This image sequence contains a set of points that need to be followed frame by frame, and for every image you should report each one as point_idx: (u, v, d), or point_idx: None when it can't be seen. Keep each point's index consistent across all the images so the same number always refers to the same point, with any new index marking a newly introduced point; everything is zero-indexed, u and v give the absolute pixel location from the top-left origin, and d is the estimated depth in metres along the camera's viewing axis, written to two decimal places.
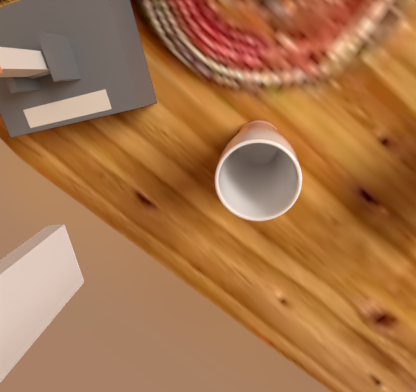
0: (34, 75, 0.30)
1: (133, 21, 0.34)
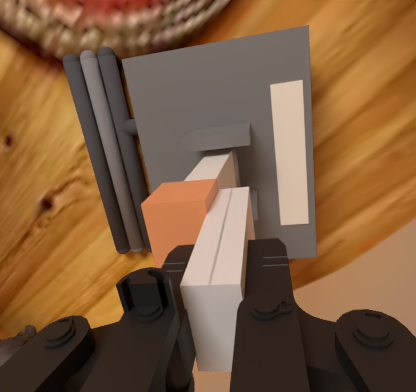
0: (236, 183, 0.21)
1: None
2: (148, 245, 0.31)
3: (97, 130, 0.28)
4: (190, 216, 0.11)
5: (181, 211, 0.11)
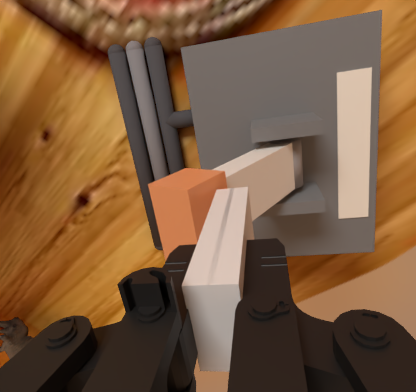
0: (295, 177, 0.20)
1: None
2: None
3: (140, 123, 0.28)
4: (179, 201, 0.13)
5: (172, 196, 0.13)
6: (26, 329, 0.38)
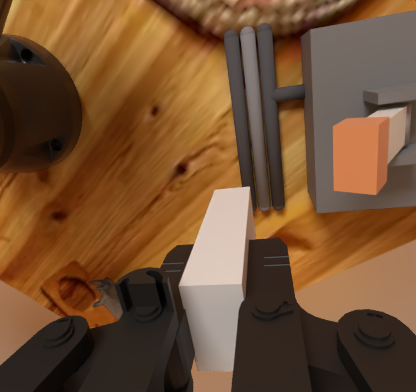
0: (405, 134, 0.24)
1: None
2: (278, 203, 0.35)
3: (244, 98, 0.32)
4: (366, 135, 0.17)
5: (359, 132, 0.17)
6: None
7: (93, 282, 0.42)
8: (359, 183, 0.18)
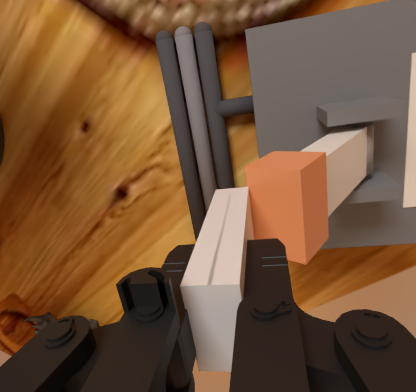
0: (367, 163, 0.19)
1: None
2: None
3: None
4: (286, 183, 0.12)
5: (277, 178, 0.12)
6: None
7: (30, 319, 0.37)
8: None
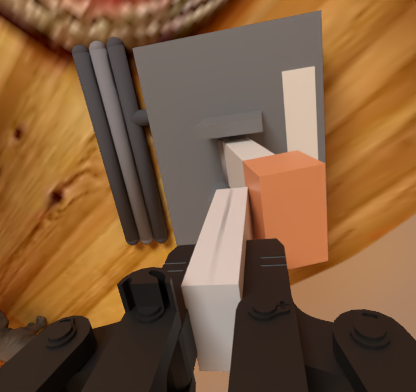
0: None
1: None
2: (158, 236, 0.32)
3: (106, 121, 0.29)
4: (309, 182, 0.11)
5: (300, 178, 0.11)
6: (6, 321, 0.39)
7: None
8: (305, 252, 0.12)
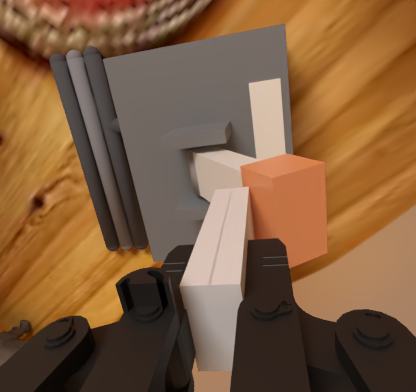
0: None
1: None
2: (137, 242, 0.32)
3: (85, 129, 0.29)
4: (313, 180, 0.12)
5: (305, 177, 0.12)
6: None
7: None
8: (309, 246, 0.13)
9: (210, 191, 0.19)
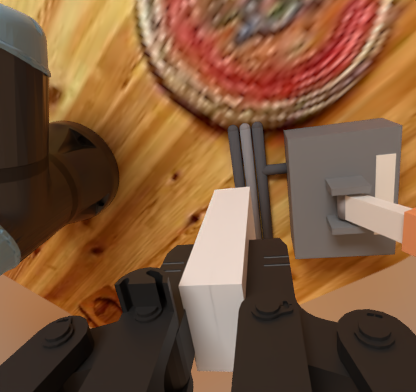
0: None
1: (309, 127, 0.40)
2: None
3: None
4: None
5: None
6: None
7: None
8: None
9: (360, 218, 0.34)
